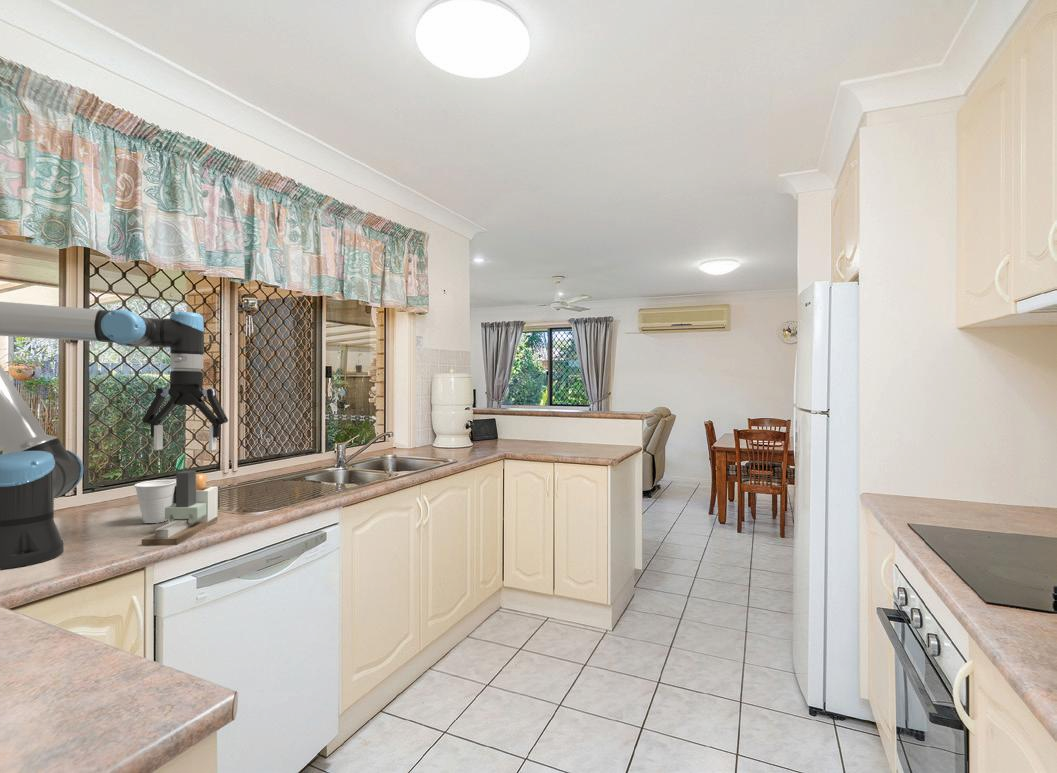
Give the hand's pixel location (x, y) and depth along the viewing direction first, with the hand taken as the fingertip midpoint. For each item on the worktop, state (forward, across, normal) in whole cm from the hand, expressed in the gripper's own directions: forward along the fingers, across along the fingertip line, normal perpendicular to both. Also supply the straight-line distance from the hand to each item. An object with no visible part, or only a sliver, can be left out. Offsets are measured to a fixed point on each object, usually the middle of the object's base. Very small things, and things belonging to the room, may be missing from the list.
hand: (185, 449), depth 143 cm
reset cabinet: (+20, 0, +6) cm, 21 cm away
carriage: (+19, 0, 0) cm, 19 cm away
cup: (+22, -12, +11) cm, 28 cm away
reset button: (+13, 0, +6) cm, 14 cm away
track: (+22, 0, -2) cm, 22 cm away
